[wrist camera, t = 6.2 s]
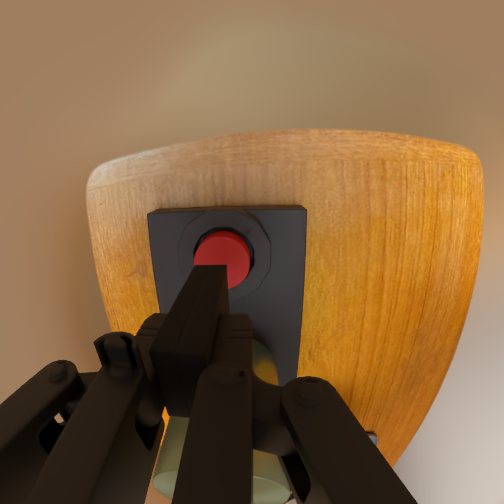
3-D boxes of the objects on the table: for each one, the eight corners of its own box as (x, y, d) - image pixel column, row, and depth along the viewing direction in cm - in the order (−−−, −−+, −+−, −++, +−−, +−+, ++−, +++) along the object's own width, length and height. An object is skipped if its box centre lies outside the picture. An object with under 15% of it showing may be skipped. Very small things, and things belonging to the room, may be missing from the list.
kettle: (181, 332, 21) (127, 478, 8) (298, 332, 21) (336, 485, 8) (195, 404, 23) (172, 523, 10) (291, 404, 23) (308, 527, 10)
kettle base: (155, 206, 22) (137, 214, 18) (301, 202, 22) (312, 209, 18) (181, 377, 27) (173, 403, 23) (292, 378, 27) (297, 405, 23)
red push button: (197, 231, 19) (191, 236, 17) (249, 229, 19) (249, 235, 17) (200, 279, 20) (196, 289, 18) (250, 279, 20) (250, 289, 18)
